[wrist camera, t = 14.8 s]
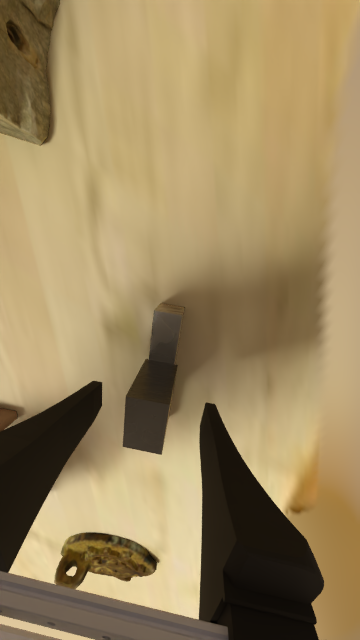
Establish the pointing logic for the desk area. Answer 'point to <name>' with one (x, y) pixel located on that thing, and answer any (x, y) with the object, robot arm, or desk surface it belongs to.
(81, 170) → the desk surface
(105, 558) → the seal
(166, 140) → the desk surface
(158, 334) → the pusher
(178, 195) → the desk surface
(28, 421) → the robot arm
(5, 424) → the walnut bay
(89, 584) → the desk surface
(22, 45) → the decorative tile
